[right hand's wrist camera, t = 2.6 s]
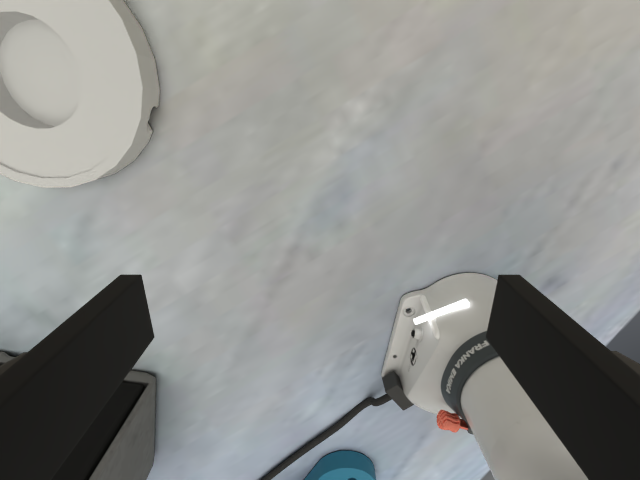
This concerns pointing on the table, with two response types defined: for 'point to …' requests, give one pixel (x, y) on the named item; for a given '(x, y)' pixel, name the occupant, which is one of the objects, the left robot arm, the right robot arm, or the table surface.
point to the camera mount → (343, 467)
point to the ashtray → (72, 90)
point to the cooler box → (116, 435)
